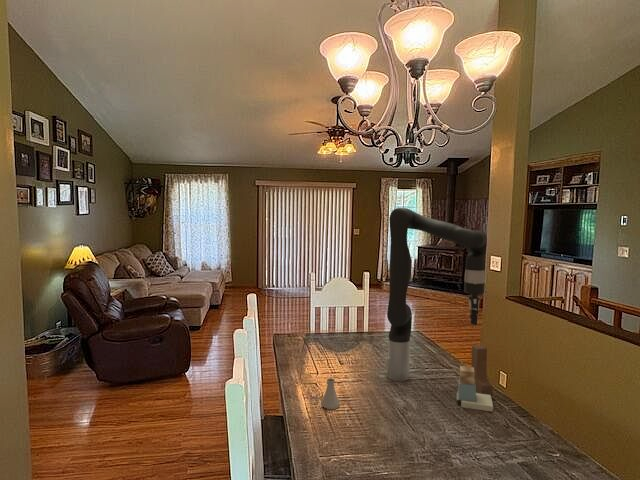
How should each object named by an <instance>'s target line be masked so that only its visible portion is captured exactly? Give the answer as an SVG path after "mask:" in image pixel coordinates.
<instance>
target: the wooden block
mask: <svg viewBox="0 0 640 480" xmlns="http://www.w3.org/2000/svg"><path fill="white" fill-rule="evenodd" d="M487 355H488V348H487V347H485V346H484V345H482V344H480V345H479V344H475V345H472V346H471V365H470V367H474V380H475V383H476V393H480V394H487V395H492V396H493V384H492V382H490V380H489V379H488V376H487V375H488V374H487V365H488V363H487V361H488V356H487Z"/></svg>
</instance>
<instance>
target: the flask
mask: <svg viewBox="0 0 640 480" xmlns="http://www.w3.org/2000/svg"><path fill="white" fill-rule="evenodd" d="M335 382H336V379H335V378H331V377H330V378H327V379H326V383H327V384H326V385H327V386H326V390H325V392H324V396H323V398H322V401H321V404H322V407H321V408H323V407H324V409H325V408H327V409H326V410H336V409H338V408H340V407H341V406H340V399H339V398H338V395H337V392H336V388H335Z"/></svg>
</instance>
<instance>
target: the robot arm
mask: <svg viewBox="0 0 640 480" xmlns="http://www.w3.org/2000/svg"><path fill="white" fill-rule="evenodd" d="M408 229H409V230H418V231H421V232H424V233H427V234H429V235H431V236H434V237H436V238H439V239H442V240H445V241H449V242H451V243H456V244H458V245H460V246H463V247H466V248H467V249H468V252H467V255H466V258H465V271H464V284H463V285H464V287H463V288H464V290H463V291H464V293H466V294H469V296H468V306H469V310H470V311H469V318H470V324H471V325H475V326H476V325H478V316H479V310H480V301H481V300H480V297H478V296H479V295H483V294H485V291H486V290H485V289H486V288H485V287H486V273H485V267H486V266H485V265H486V264H485V260H486V257H485V256H486V251H487V245H488V241H487V239H488V238H487V235H486V233H484V231H481V230H472V229H469V228H464V227H462V226H460V225H458V224H455V223H450V222H447V221H443V220H438V219H434V218H430V217H427V216H424V215H422V214H419V213H417V212H416V211H413V210H411V209H410V208H407V207H397V208H394V209H392V211H391V213H390V215H389V234H390V245H389V246H390V250H389V251H390V252H389V283H388V284H389V285H388V286H389V296H388V305H387V311H386V316H387V320H388V323H390V329H389V332H388V349H387V351H388V356H387V366H386V367H387V369H386V370H387V371H386V379H388V380H392V381H395V382H406V381H408V380H409V379H410V355H411V354H410V353H411V352H410V348H411V344H410V343H411V333H412V323H413V322H412V321H413V320H412V319H413V316H412V315H413V312H412V309H411V307H410V306H409V304H407V292H408V288H409V285H410V281H411V275H412V257H411V253H410V252H411V251H410V249H409V245H408Z"/></svg>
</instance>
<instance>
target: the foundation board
mask: <svg viewBox="0 0 640 480" xmlns="http://www.w3.org/2000/svg"><path fill="white" fill-rule="evenodd" d="M457 400H458V401H460V407H461V408H463V409H464V408H465V409H472V410H479V411H486V412H492V413H493V412H494V404H493V400H492V396H491V395H487V394H480V393H477V392H476V401H470V400H463V399H459V395H458V391H456V401H457Z"/></svg>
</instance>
